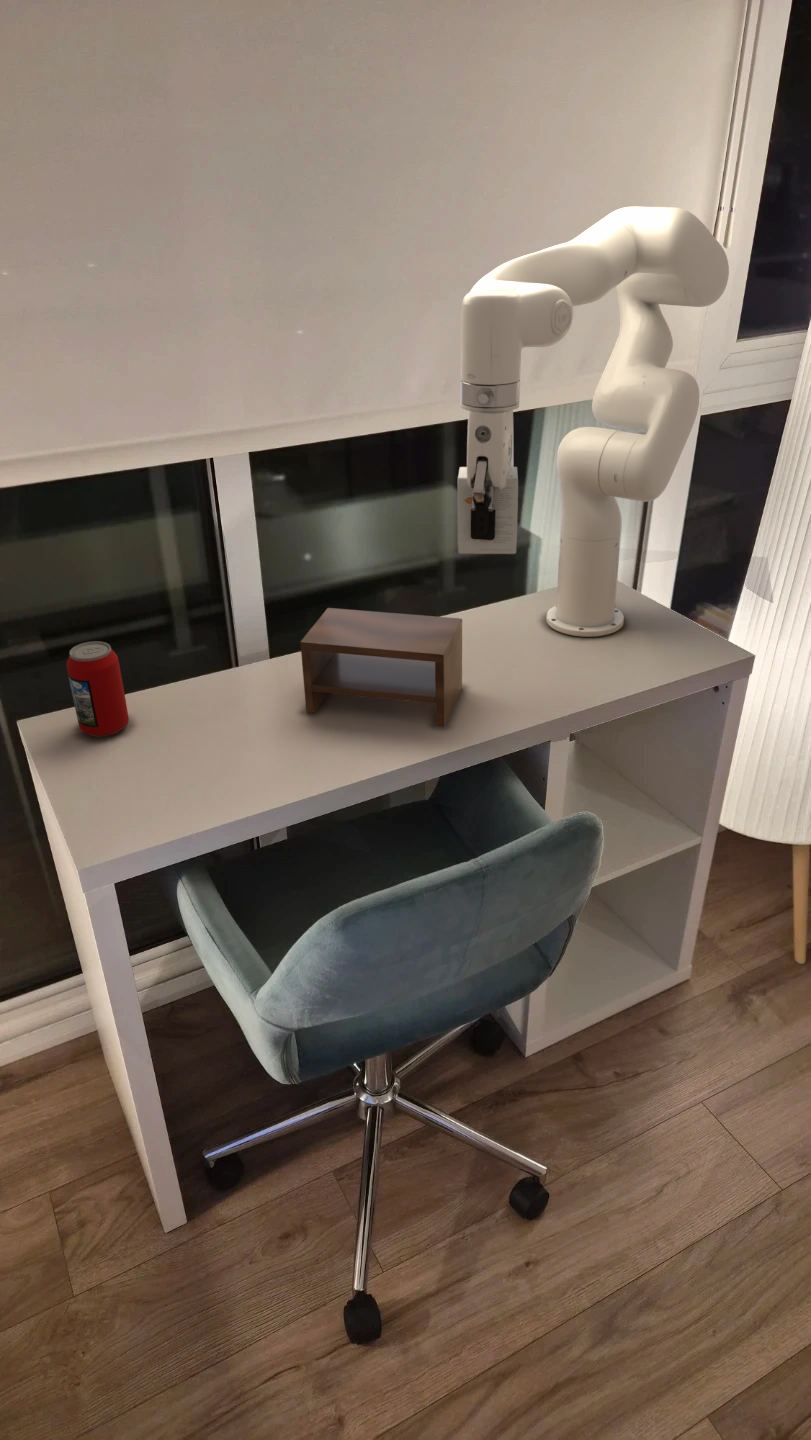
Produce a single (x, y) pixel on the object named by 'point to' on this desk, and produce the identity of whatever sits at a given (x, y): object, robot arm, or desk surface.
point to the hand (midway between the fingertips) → (487, 529)
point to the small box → (503, 520)
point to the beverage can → (97, 689)
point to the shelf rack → (384, 658)
